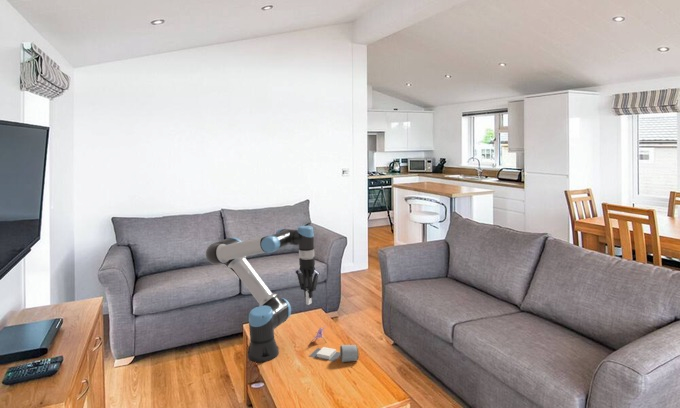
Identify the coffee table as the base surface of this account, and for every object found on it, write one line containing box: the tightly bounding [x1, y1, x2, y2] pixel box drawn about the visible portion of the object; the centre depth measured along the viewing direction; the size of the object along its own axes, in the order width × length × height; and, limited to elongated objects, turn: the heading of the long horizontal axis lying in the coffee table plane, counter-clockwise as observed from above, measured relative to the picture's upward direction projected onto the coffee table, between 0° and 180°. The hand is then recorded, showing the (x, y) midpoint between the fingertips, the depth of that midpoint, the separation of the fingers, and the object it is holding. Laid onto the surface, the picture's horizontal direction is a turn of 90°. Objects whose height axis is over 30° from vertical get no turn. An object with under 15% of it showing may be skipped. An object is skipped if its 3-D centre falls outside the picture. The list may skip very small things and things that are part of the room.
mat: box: [308, 347, 341, 363], centre depth 207 cm, size 14×9×1 cm, turn 64°
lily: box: [309, 326, 327, 344], centre depth 220 cm, size 12×12×10 cm
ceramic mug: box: [339, 344, 360, 363], centre depth 203 cm, size 11×8×8 cm
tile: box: [317, 346, 337, 360], centre depth 207 cm, size 2×7×7 cm
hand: (308, 303), depth 210 cm, fingers closed
